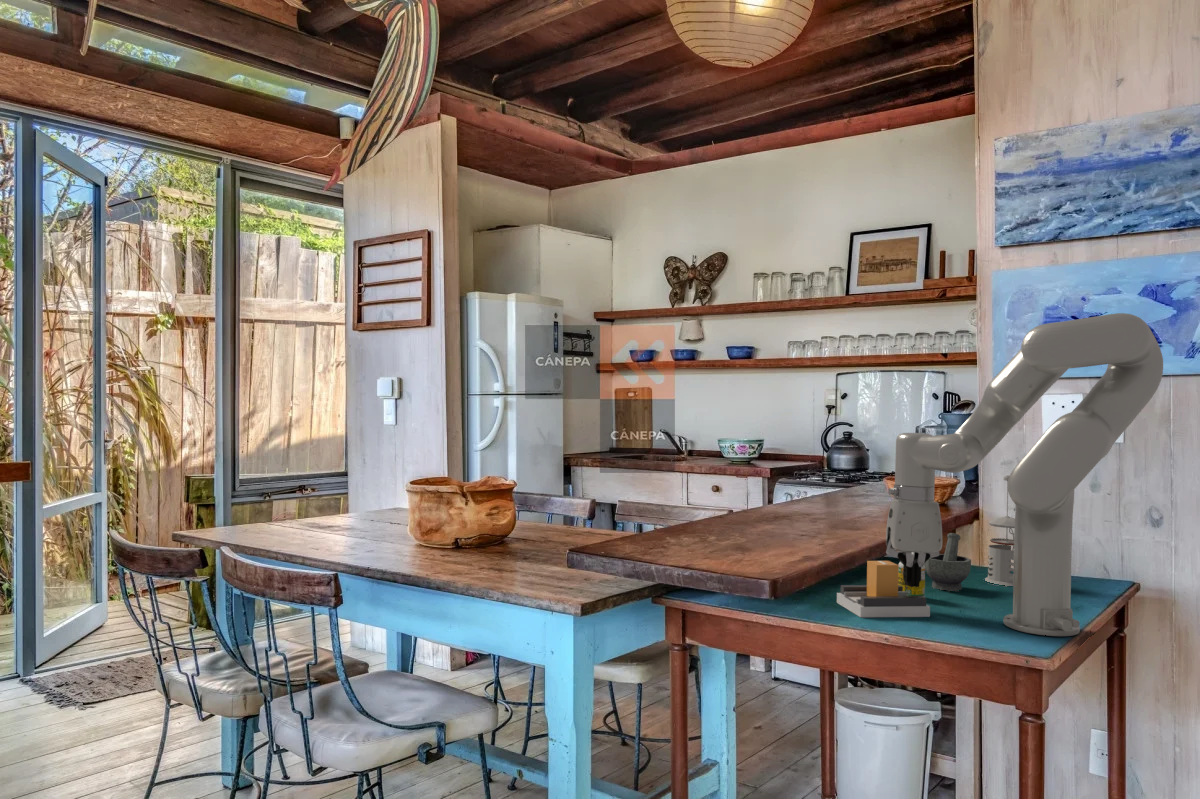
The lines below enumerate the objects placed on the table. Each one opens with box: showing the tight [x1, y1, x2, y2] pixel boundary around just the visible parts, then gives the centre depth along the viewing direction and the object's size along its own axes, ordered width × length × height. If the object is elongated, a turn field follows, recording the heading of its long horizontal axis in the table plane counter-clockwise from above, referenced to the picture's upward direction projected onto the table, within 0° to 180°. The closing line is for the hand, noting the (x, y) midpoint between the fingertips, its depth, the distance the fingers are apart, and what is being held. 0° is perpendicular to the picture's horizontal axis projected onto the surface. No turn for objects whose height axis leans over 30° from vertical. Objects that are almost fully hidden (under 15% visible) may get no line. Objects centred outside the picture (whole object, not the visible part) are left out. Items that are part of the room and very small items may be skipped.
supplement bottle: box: [898, 552, 926, 598], centre depth 183 cm, size 5×5×10 cm
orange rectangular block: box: [866, 560, 899, 596], centre depth 172 cm, size 4×4×7 cm
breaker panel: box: [836, 584, 931, 618], centre depth 172 cm, size 12×14×4 cm
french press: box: [984, 475, 1015, 587], centre depth 201 cm, size 10×12×25 cm
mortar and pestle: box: [924, 532, 972, 592], centre depth 193 cm, size 11×9×12 cm
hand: (911, 585), depth 172 cm, fingers closed
